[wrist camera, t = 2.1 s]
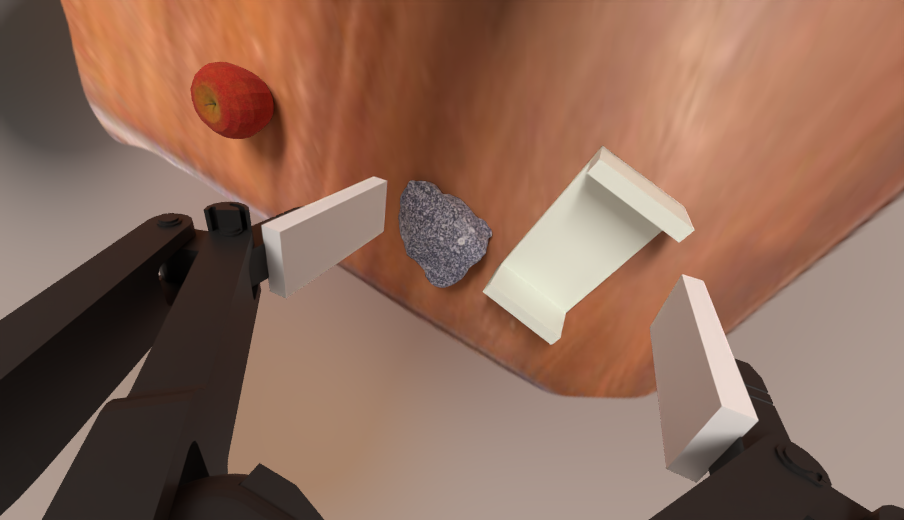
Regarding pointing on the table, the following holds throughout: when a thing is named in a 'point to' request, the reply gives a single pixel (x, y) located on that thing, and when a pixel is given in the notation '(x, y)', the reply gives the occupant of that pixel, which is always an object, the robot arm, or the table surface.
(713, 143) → the table surface
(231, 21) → the table surface
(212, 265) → the robot arm
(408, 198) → the rock
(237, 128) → the apple
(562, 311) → the u rest
